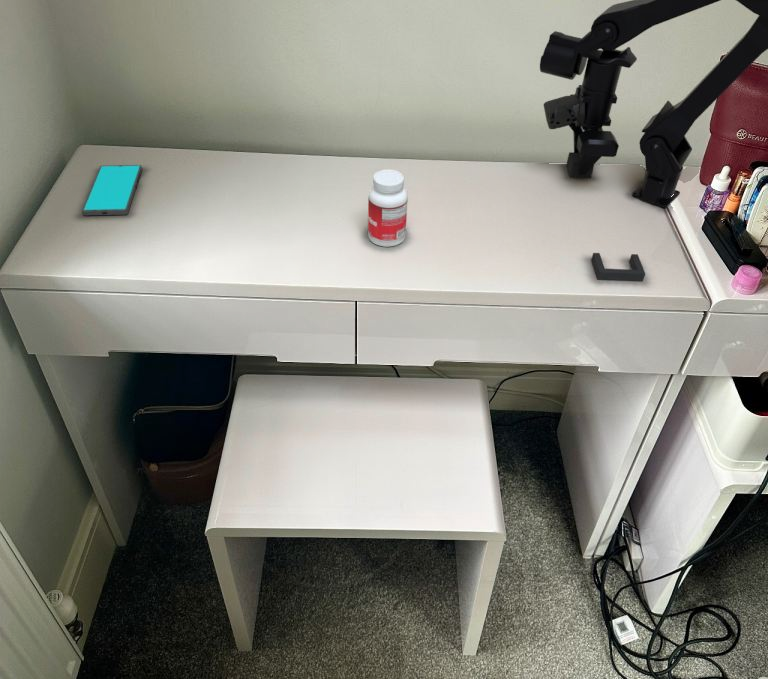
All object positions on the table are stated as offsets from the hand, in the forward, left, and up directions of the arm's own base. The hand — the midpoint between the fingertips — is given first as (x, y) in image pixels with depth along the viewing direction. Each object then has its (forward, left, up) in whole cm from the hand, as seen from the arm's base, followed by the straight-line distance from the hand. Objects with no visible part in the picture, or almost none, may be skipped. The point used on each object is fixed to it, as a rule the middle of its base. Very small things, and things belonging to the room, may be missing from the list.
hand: (579, 167), depth 131 cm
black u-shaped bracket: (+23, +19, -1) cm, 30 cm away
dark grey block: (0, 0, -1) cm, 1 cm away
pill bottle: (+40, -14, -1) cm, 42 cm away
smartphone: (+61, -58, -1) cm, 84 cm away
